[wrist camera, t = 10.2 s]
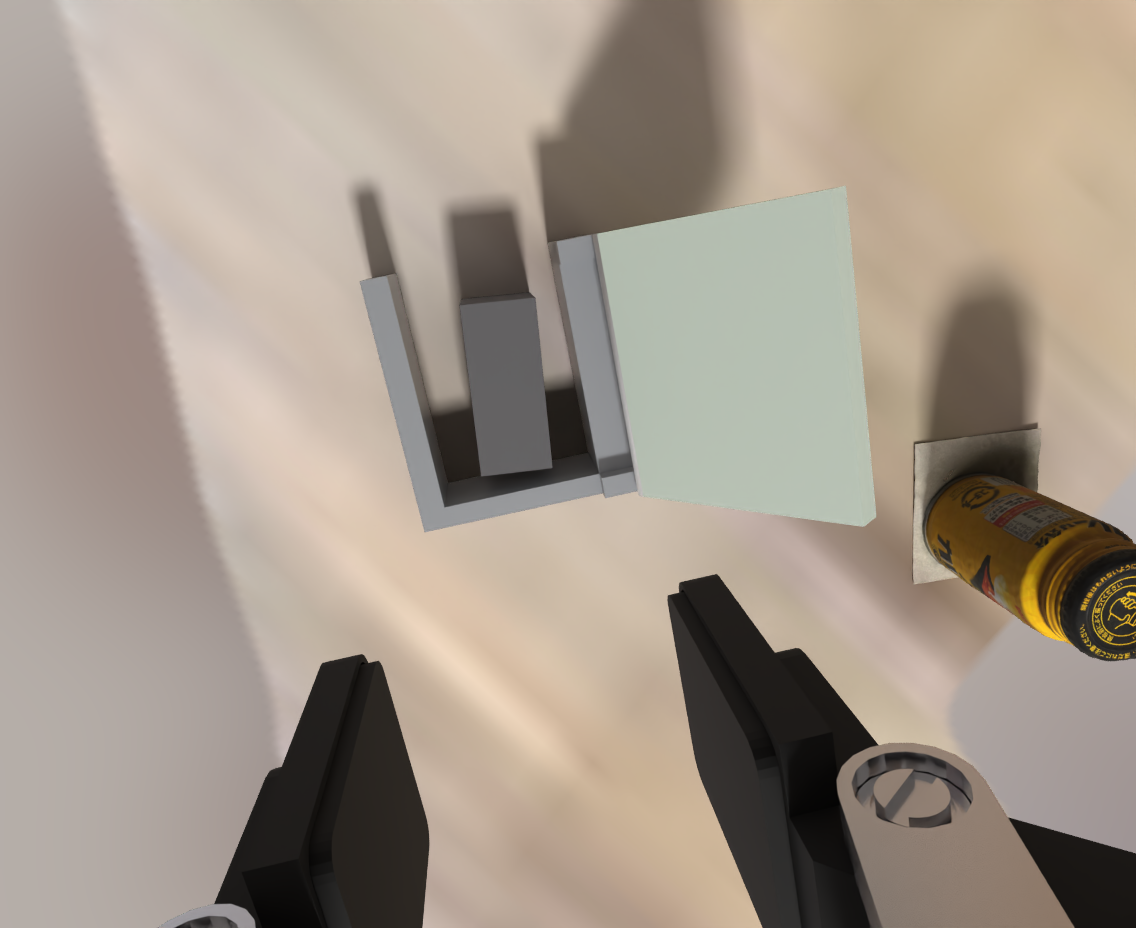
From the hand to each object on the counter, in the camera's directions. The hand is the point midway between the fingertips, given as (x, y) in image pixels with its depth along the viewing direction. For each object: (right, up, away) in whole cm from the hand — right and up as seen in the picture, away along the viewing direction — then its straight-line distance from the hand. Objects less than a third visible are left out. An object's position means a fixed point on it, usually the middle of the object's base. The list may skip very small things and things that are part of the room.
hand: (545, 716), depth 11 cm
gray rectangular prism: (-3, +8, +30) cm, 32 cm away
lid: (+6, +7, +21) cm, 23 cm away
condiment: (+24, +1, +35) cm, 42 cm away
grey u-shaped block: (-3, +8, +30) cm, 31 cm away
